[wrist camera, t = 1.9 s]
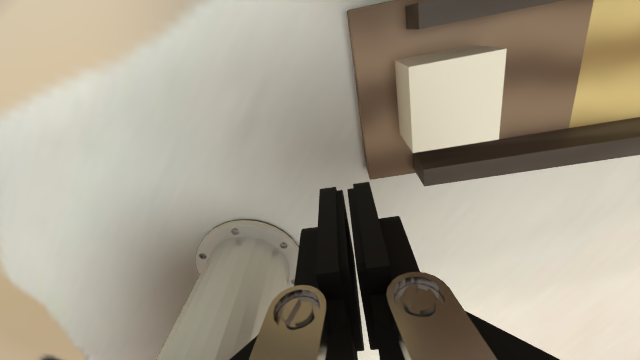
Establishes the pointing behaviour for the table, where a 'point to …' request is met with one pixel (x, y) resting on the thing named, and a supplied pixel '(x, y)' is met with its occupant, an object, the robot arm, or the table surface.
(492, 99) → the cream block
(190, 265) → the table surface
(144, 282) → the table surface
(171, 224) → the table surface
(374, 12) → the tunnel deck
